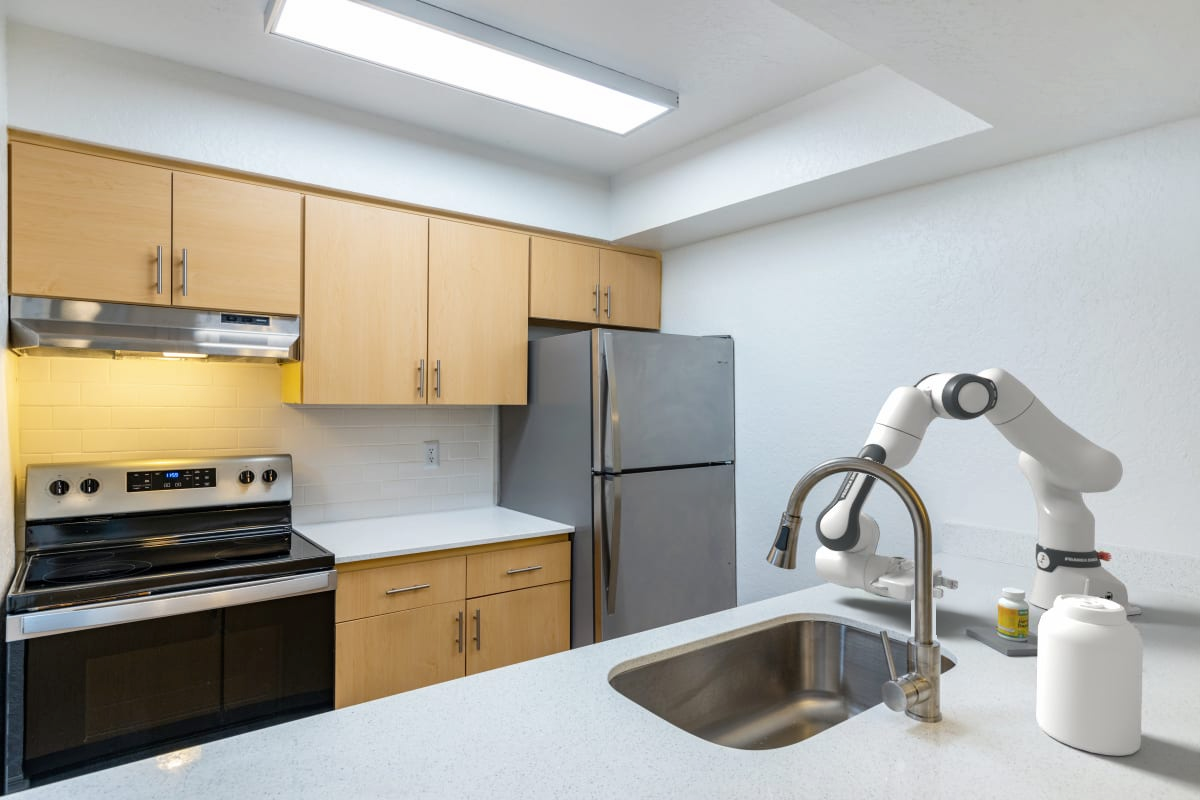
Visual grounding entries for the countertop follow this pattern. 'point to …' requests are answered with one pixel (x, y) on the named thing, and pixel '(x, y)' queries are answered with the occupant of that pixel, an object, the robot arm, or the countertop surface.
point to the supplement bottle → (1013, 615)
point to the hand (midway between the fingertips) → (949, 589)
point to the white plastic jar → (1090, 675)
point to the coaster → (1005, 641)
